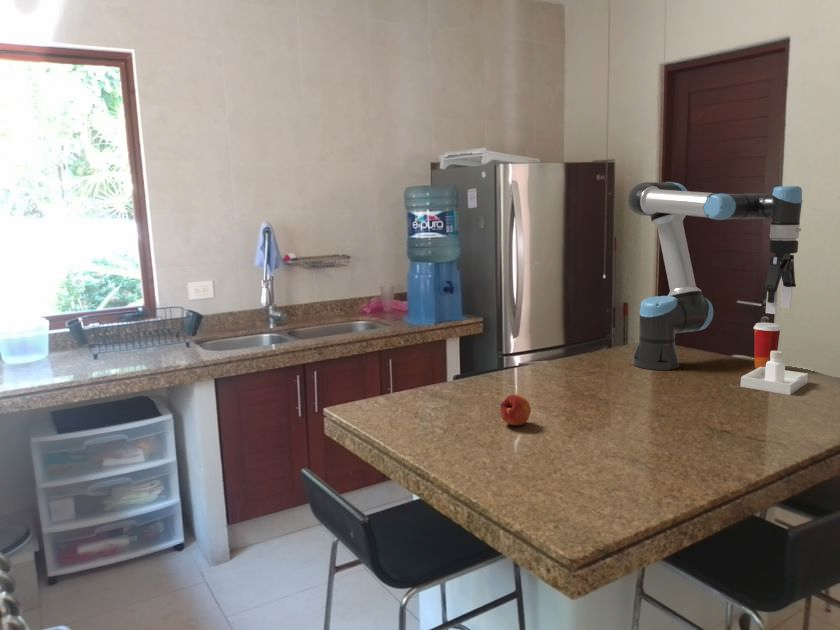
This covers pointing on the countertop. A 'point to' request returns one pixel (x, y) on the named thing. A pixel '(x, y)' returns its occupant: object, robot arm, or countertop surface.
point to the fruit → (515, 410)
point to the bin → (787, 387)
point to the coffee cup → (765, 342)
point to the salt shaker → (775, 367)
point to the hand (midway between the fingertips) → (778, 310)
